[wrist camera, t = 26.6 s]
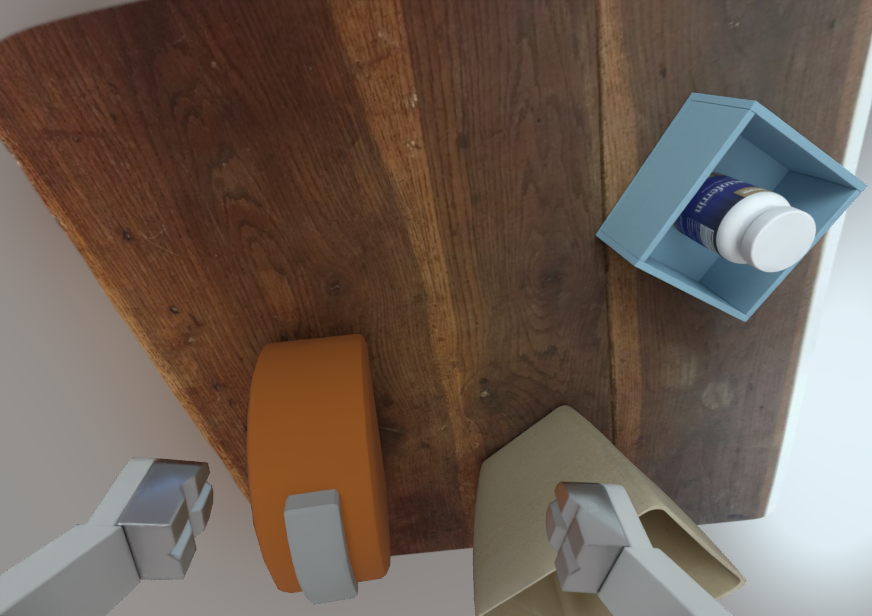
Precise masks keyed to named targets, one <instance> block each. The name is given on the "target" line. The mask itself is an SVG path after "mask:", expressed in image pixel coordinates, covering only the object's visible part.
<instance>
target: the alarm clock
mask: <svg viewBox="0 0 872 616" xmlns="http://www.w3.org/2000/svg"><path fill="white" fill-rule="evenodd" d="M247 466H248V481H249V493H250V501H251V509H252V517H253V525H254V528H255V532H256V535H257V539H258V542H259V545H260V549H261V553H262V556H263V559H264V562H265V564H266V566H267V568H268V569H269V572H270V574H271V576H272V578H273V580H274V582H275V584H276V586H277V588H278V589H279V590H281V591H283V592H289V593H295V592H301V591H303V593H304V594H305V596H306V598H307V599H308V600H309V601H310V602H312V603H313V604H321V603H327V602H333V601H339V600H345V599H351V598H355V597H356V596H357V594H358V582H362V581H368V580H374V579H380V578H382V577H384V576H385V575H386V573H387V571H388V569H389V566H390V529H389V512H388V498H387V488H386V480H385V473H384V466H383V458H382V451H381V443H380V436H379V429H378V421H377V414H376V406H375V399H374V392H373V384H372V377H371V369H370V362H369V355H368V347H367V343H366V341H365V339H364V338H363V336H362V335H361V334H350V335H340V336H331V337H322V338H313V339H303V340H294V341H285V342H276V343H269V344H266V345H265V346H264V347H263V349H262V351H261V353H260V354H259V357H258V361H257V364H256V367H255V371H254V374H253V377H252V381H251V387H250V396H249V406H248V415H247Z"/></svg>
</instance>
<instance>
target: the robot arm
mask: <svg viewBox="0 0 872 616" xmlns="http://www.w3.org/2000/svg"><path fill="white" fill-rule="evenodd" d="M209 474H210V471H209V466H208V463H206V462H195V461H182V460H171V459H157V458H143V457H134V458H132V459H131V460H130V461H129V462H127V463H126V465H125V466H124V468H123V469H122V471H121V472H120V474H119V475H118V477H117V478H116V480H115V481H114V483H113V484H112V486H111V487H110V489H109V490H108V492H107V493H106V495H105V496H104V498H103V499H102V501H101V502H100V503H99V505H98V507H97V508H96V510H95V511H94V512H93V514H92V515H91V517H90V518H89V520H88V521H87V523H86V524H77V525H76V526H74V527H73V528H71V529H70V530H68V531H67V532H65V533H64V534H62V535H61V536H59V537H58V538H56V539H55V540H53V541H52V542H50V543H48V544H47V545H45V546H44V547H43V548H41V549H39V550H38V551H36V552H35V553H33V554H32V555H30V556H29V557H27V558H26V559H24V560H23V561H21V562H20V563H18V564H17V565H15V566H14V567H12V568H10V569H9V570H7V571H6V572H4V573H3V574H1V575H0V616H105V615H106V614H107V613H108V612H109V611H110V610H112V609H113V608H114V607H115V606H116V605H117V604H118V603H119V602H120V601H121V600H122V599H123V598H124V597H125V596H126V595H127V594H128V593H130V591H132V590H133V589H134V588H135V587H136V586H137V585H138V584H139V583H140V579H148V580H152V579H153V580H155V579H156V580H157V579H158V580H163V579H164V580H173V579H174V580H183V579H184V577H185V575H186V572H187V570H188V568H189V565H190V563H191V560H192V558H193V556H194V553H195V551H196V545H195V540H194V538H195V537H196V536H197V535H199V534H200V533H201V532H202V531H204V530H205V527H206V525H207V522H208V520H209V517H210V513H211V509H212V505H213V488H212V485H210V484H209V483H208V482H207V481H206V480H207V478H208V476H209ZM554 492H555V496H556V499H555V500H554V501H552V502H551V503H549V506H548V509H547V512H546V532H547V537H548V541H549V544H550V545H551V546H552V547H553V548H554V550H555V551H556V552H557V553H558V555H557V557H556V560H555V562H554V563H555V567H556V571H557V574H558V578H559V582H560V585H561V589H562V591H566V592H582V593H598V595H597V596H598V597H599V598H600V600H601V601H602V602H603V603H604V605H605V606H606V607H607V609H608V610H609V611H610V612H611V614H612V615H613V616H733V615H732V614H731V613H730V612H729V611H728V610H727V609H726V608H725V607H723V606H722V605H721V604H720V603H719V602H718V601H717V600H716V599H715V598H714V597H712V596H711V595H710V594H709V593H708V592H707V591H706V590H705V589H704V588H702V587H701V586H700V585H699V584H698V583H697V582H696V581H695V580H694V579H692V578H691V577H690V576H689V575H688V574H687V573H686V572H685V571H684V570H682V569H681V568H680V567H679V566H678V565H677V564H676V563H675V562H674V561H672V560H671V559H670V558H669V557H668V556H667V555H666V554H665V553H664V552H662V551H661V550H660V549H659V548H653V547H652V545H651V543H650V540H649V538H648V536H647V534H646V532H645V530H644V528H643V526H642V524H641V521H640V519H639V517H638V515H637V513H636V511H635V509H634V507H633V505H632V502H631V500H630V498H629V496H628V494H627V492H626V490H625V488H624V487H623V486H622V485H618V484H599V483H588V482H564V481H561V482H559V483H558V484H557V486H556V488H555V491H554Z"/></svg>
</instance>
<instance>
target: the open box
mask: <svg viewBox="0 0 872 616" xmlns="http://www.w3.org/2000/svg"><path fill="white" fill-rule="evenodd" d="M711 172H717V173H720V174H723V175H726V176H729V177H732V178H735V179H737V180H740V181H743V182H746V183H749V184H752V185H754V186H757V187H760V188H763V189H766V190H769V191H772V192H774V193H777V194H779V195H781V196H782V197H784V198H785V199H786V200H787V201H788V203H789V204H790V206H791V207H794V208H796V209H799V210H801V211H804V212H806V213H808V214H809V215H810V216H811V217H812V218H813V220H814V222H815V225H816V233H815V238H814V241H813V243H812V245H811V247H810V248H809V250H810V249H811V248H812V247H813V246H814V245H815V244H816V243H817V241H818V240H819V239H820V238H821V237H822V236H823V235H824V234H825V233H826V231H827V230H828V229H829V228H830V227H831V226H832V225H833V224H834V222H835V221H836V220H837V219H838V218H839V217H840V216H841V215H842V214H843V212H844V211H845V210H846V209H847V208H848V207H849V206H850V205H851V203H852V202H853V201H854V200H855V199H856V198H857V197H858V196H859V195H860V193H861V192H862V191H863V190H864V189H865V188H866V187H867V185H866V184H864V183H863V182H862V181H861V180H860V179H858V178H857V177H856V176H854V175H853V174H852V173H850V172H849V171H848V170H846V169H845V168H844V167H842V166H841V165H840V164H839V163H837V162H836V161H835V160H833V159H832V158H831V157H829V156H828V155H827V154H825V153H824V152H823V151H821V150H820V149H819V148H817V147H816V146H815V145H814V144H812V143H811V142H810V141H808V140H807V139H806V138H804V137H803V136H802V135H800V134H799V133H798V132H796V131H795V130H794V129H792V128H791V127H790V126H789V125H787V124H786V123H785V122H783V121H782V120H781V119H779V118H778V117H777V116H775V115H774V114H773V113H771V112H770V111H769V110H767V109H766V108H765V107H764V106H762V105H761V104H760V103H758V102H757V101H752V100H744V99H737V98H729V97H722V96H714V95H707V94H699V93H691V95H690V96H689V98H688V99H687V101H686V102H685V104H684V105H683V106H682V108H681V109H680V111H679V112H678V114H677V115H676V117H675V118H674V120H673V121H672V123H671V124H670V126H669V127H668V129H667V130H666V131H665V133H664V134H663V136H662V137H661V139H660V140H659V142H658V143H657V145H656V146H655V148H654V149H653V151H652V152H651V154H650V155H649V157H648V158H647V159H646V161H645V162H644V164H643V165H642V167H641V168H640V170H639V171H638V173H637V174H636V176H635V177H634V179H633V180H632V182H631V183H630V185H629V186H628V187H627V189H626V190H625V192H624V193H623V195H622V196H621V198H620V199H619V201H618V202H617V204H616V205H615V207H614V208H613V210H612V211H611V213H610V214H609V215H608V217H607V218H606V220H605V221H604V223H603V224H602V226H601V227H600V229H599V230H598V232H597V233H596V236H597V237H598V238H600V239H601V240H602V241H603V242H605V243H606V244H607V245H608V246H610V247H611V248H612V249H613V250H615V251H616V252H617V253H618V254H620V255H621V256H622V257H623V258H625V259H626V260H627V261H628V262H630V263H631V264H632V265H633V266H635V267H637V268H639V269H641V270H643V271H645V272H647V273H649V274H651V275H653V276H655V277H657V278H659V279H661V280H662V281H664V282H666V283H668V284H670V285H672V286H674V287H676V288H678V289H680V290H682V291H684V292H686V293H688V294H690V295H692V296H694V297H696V298H698V299H700V300H702V301H704V302H706V303H708V304H710V305H712V306H714V307H716V308H718V309H720V310H722V311H724V312H726V313H728V314H730V315H732V316H734V317H736V318H738V319H740V320H742V321H744V322H746V321H747V320H748V319H749V316H751V315H752V314H753V313H754V312H755V311H756V310H757V309H758V307H759V306H760V305H761V304H762V303H763V302H764V301H765V300H766V298H767V297H768V296H769V295H770V294H771V293H772V292H773V291H774V290H775V288H776V287H777V286H778V285H779V284H780V283H781V282H782V281H783V279H784V278H785V277H786V276H787V275H788V274H789V273H790V272H791V271H792V269H793V268H794V267H795V266H796V265H797V264H798V263H799V262H800V260H801V259H802V258H803V257H804V256H805V255H806V254H807V253H808V252H809V250H808V251H807V253H806V254H805V255H804V256H803V257H802V258H801V259H800V260H799V261H797V262H796V263H795V264H793V265H792V266H790V267H788V268H786V269H784V270H781V271H778V272H764V271H761V270H759V269H757V268H755V267H753V266H751V265H749V264H748V263H747V264H738V263H733V262H730V261H728V260H726V259H724V258H722V257H721V256H719V255H717V254H716V253H714V252H712V251H711V250H709V249H707V248H705V247H704V246H702V245H700V244H699V243H697V242H695V241H694V240H692V239H690V238H688V237H687V236H685V235H683V234H682V233H680V232H679V231H677V230H676V229H675V228H674V226H673V223H674V222H675V221H676V219H677V218H678V217H679V215H680V214H681V213H682V211H683V210H684V209H685V207H686V206H687V205H688V203H689V202H690V201H691V199H692V198H693V197H694V195H695V194H696V193H697V191H698V190H699V189H700V187H701V186H702V185H703V183H704V182H705V180H706V179H707V178H708V176H709V175H710V174H711Z"/></svg>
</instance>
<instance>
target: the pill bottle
mask: <svg viewBox="0 0 872 616" xmlns="http://www.w3.org/2000/svg"><path fill="white" fill-rule="evenodd" d="M673 226H674V228H675V229H676V230H677V231H679V232H680V233H682V234H683V235H685V236H687V237H688V238H690V239H692V240H694V241H695V242H697V243H699V244H700V245H702V246H704V247H705V248H707V249H709V250H711V251H712V252H714V253H716V254H717V255H719V256H721V257H722V258H724V259H726V260H728V261H730V262H733V263H738V264H747V263H748V264H749V265H751V266H753V267H755V268H757V269H759V270H761V271H764V272H778V271H781V270H784V269H786V268H788V267H790V266H792V265H793V264H795V263H796V262H797V261H799V260H800V259H801V258H802V257H803V256H804V255H805V254H806V253H807V251H808V250H809V248H810V247H811V245H812V243H813V241H814V238H815V233H816V225H815V222H814V220H813V218H812V217H811V216H810V215H809V214H808V213H806V212H804V211H801V210H799V209H796V208H794V207H791V206H790V204H789V203H788V201H787V200H786V199H785V198H784V197H782V196H781V195H779V194H777V193H774V192H772V191H769V190H766V189H763V188H760V187H757V186H754V185H752V184H749V183H746V182H743V181H740V180H737V179H735V178H732V177H729V176H726V175H723V174H720V173H717V172H711V174H710V175H709V176H708V178H707V179H706V180H705V182H704V183H703V185H702V186H701V187H700V189H699V190H698V191H697V193H696V194H695V195H694V197H693V198H692V199H691V201H690V202H689V203H688V205H687V206H686V207H685V209H684V210H683V211H682V213H681V214H680V215H679V217H678V218H677V219H676V221H675V222H674V223H673Z"/></svg>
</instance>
